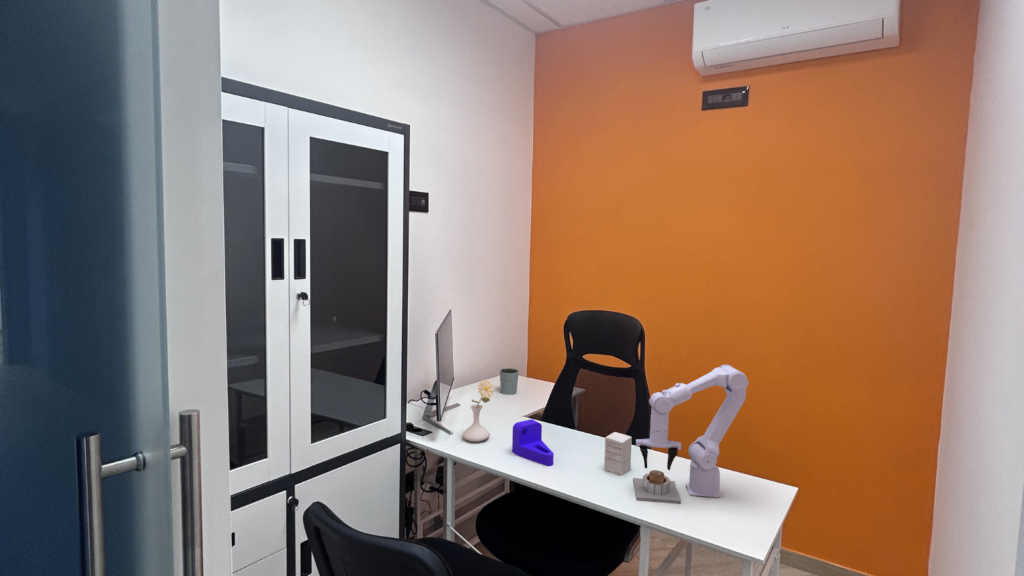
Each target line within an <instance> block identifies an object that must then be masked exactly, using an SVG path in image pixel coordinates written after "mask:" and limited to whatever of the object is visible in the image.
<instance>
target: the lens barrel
mask: <svg viewBox="0 0 1024 576" xmlns="http://www.w3.org/2000/svg"><path fill="white" fill-rule="evenodd" d="M642 479H643V485H642V487H643V490H644V491H646V492H648V493H650V494H653V495H666V494H668V493H669V492H670V481H671V479H670V477H668V476H666V475H665V474H664V483H661V484H658V483H653V482H650V481H649V473H645V474H644V475H643V476H642Z"/></svg>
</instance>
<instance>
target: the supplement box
mask: <svg viewBox="0 0 1024 576" xmlns="http://www.w3.org/2000/svg"><path fill="white" fill-rule="evenodd" d="M632 439H633V437H632V436H630V435H627V434H623V433H620V432H616V431H614V432H612V433H610V434H609V435H607V436H606V437H605V440H604V459H603V460H604V466H603V470H604V471H607V472H609V473H612V474H615V475H618V476H623V475H624V474H626V473H627V472H628V471H630V470H631V467H632V464H631V463H632V462H631V461H632V443H633V441H632Z"/></svg>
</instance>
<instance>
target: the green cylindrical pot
mask: <svg viewBox="0 0 1024 576" xmlns="http://www.w3.org/2000/svg"><path fill="white" fill-rule="evenodd" d="M519 372H520V371H519V370H518V369H516V368H513V367H505V368H504V367H503V368H501V369H499V383H500V385H499V386H500V393H501V394H502V395H506V396H507V395H508V396H510V395H511V396H512V395H515V394H517V392H518V391H517V390H518V382H519V374H520V373H519Z"/></svg>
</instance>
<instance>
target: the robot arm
mask: <svg viewBox="0 0 1024 576" xmlns="http://www.w3.org/2000/svg"><path fill="white" fill-rule="evenodd" d="M749 385H750V383H749V380H748V377H747V375H746V374H745V373H744V372H742V371H740V370H738V369H736V368H735V367H733V366H731V365H730V364H722V365H721V366H718V367H714V369H712V370H711V371H710V372H708V373H706V374H704V375H703V376H701V377H698V378H697V379H695V380H693V381H690V382H689V383H688V384H686V383H684V382H683V383H682V382H681V383H679V382H677V383H675V384H674V386H672V387H669V388H668V389H663V390H662V391H660V392H659V391H657V392H654V393H652V394H651V396H650V398H649V399H648V403H649V405H650V407H651V408H650V409H651V411H650V413H651V414H650V423H649V424H650V431H649V438H643V439H642V438H641V439H639V438H638V439H635V446H636V448H639V450H640V453H641V455H642V458H643V463H644V466H643V467H644V469H648V454H649V450H648V448H661V449H667V462H666V469H667V470H668V471H670V470H671V467H672V464H673V462H674V460H675V458H676V457H677V455H678V452H679V451H681V450H682V442H680V441H675V440H669V439H668V436H669V420H670V419H669V418H670V417H669V416H670V414H669V413H670V412H671V410H672V409H673V407H675V406H677V405H680V404H681V403H684V402H686V401H688V400H690V399H691V398H692V395H693V394H695V393H698V392H700V391H704V390H706V389H708V388H711V387H713V386H716V387H717V386H718V387H720V388H723V389H724V391H725V392H724V393H725V394H726V397H725V398H724V400H723V402H722V403H721V405H720V407H719V408H718V410H717V412H716V414H715V415H714V417H713V419H712V420H711V422H710V424H709V425H708V427H707V429H706V430H705V432H704V434H703V435H700V436H698V437H697V438H696V440H695V441H693V442H692V443H691V444H690V445H689V446H688V449H687V453H688V455H689V457H690V466H689V483H687V482H686V483H685V486H686V488H687V491H688V493H689V496H695V497H708V498H720V485H721V473H720V468H719V467H718V466H716V465H717V461H718V457H719V455H720V448H719V447H720V443H721V441H722V440H723V438H724V436H725V435H726V433H727V431H728V430H729V428H730V426H731V424H732V423H733V422H734V419H735V418H736V416H737V414H738V413H739V411H740V410H741V408H742V406H743V405H744V402H746V398H747V387H748V386H749Z"/></svg>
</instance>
